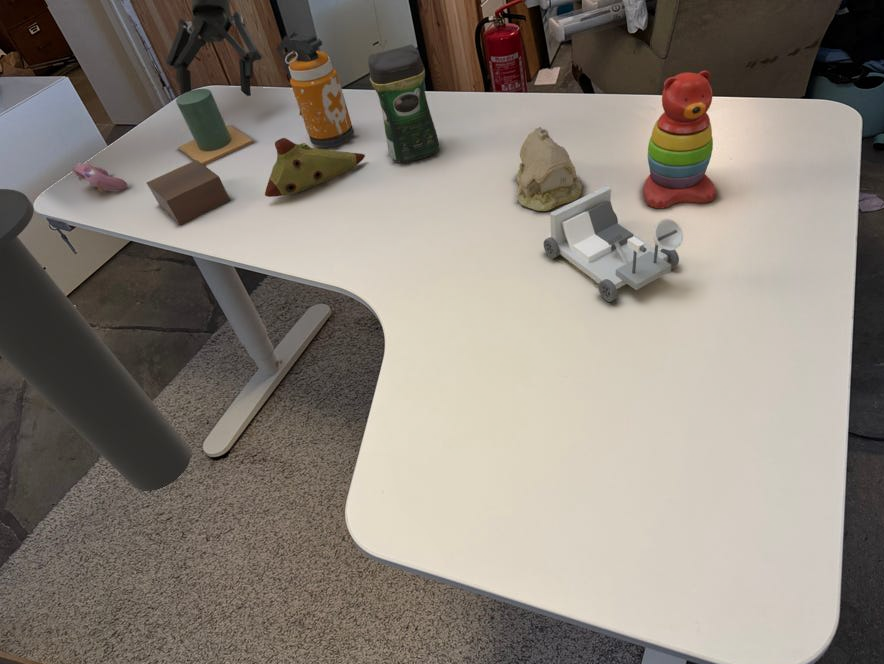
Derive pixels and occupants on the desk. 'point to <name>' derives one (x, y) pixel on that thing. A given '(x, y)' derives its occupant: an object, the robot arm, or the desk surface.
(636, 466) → the desk surface
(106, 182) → the pink animal figurine
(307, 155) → the ocarina
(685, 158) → the stacking bear
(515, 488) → the desk surface
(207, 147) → the green cylinder
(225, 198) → the riser
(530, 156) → the ceramic model
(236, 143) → the cork mat
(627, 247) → the toy car
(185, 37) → the robot arm
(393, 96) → the coffee jar
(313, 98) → the canister
